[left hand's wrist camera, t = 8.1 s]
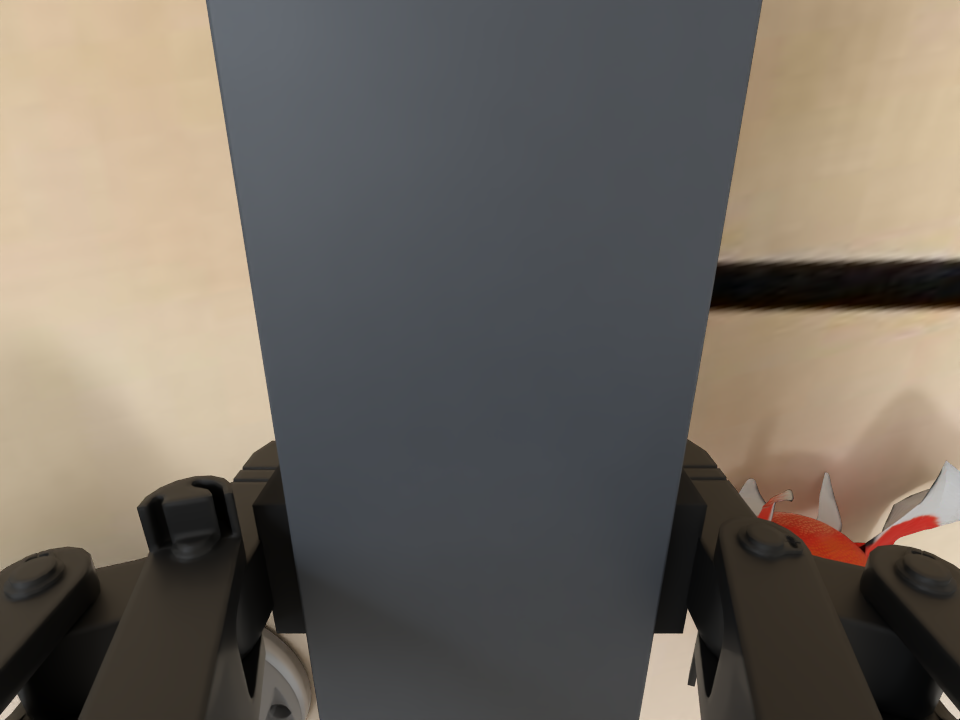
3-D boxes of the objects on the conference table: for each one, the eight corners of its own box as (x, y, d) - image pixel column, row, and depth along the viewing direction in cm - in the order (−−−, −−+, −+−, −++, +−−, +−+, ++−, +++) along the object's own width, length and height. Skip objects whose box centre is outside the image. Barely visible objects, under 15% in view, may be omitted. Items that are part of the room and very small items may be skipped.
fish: (738, 415, 23) (957, 642, 16) (929, 375, 29) (1141, 527, 23) (641, 541, 30) (769, 737, 23) (813, 486, 36) (951, 628, 30)
